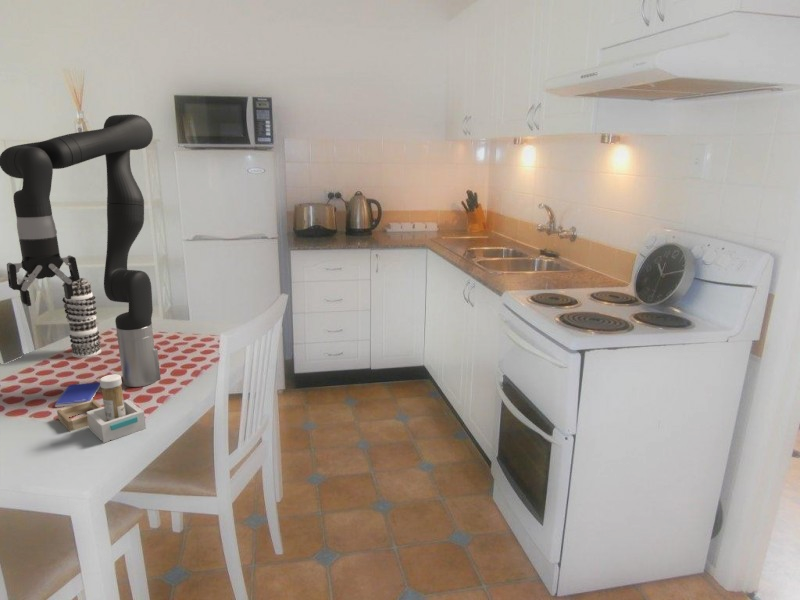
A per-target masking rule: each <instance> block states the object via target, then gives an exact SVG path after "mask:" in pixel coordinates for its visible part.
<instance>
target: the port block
mask: <svg viewBox="0 0 800 600" xmlns="http://www.w3.org/2000/svg"><path fill="white" fill-rule="evenodd" d="M124 406H125V413H126V414H125V415H126V416H123V417H120V418H116V419H113V420H110V421H107V420H106V416H105V410H104V406H102V407H101V408H97V409H94V410H91V411H88V412H86V415H87V419H88V429H89V430H90V431H91V432H92V433H93V434H94V435H95V436H96V437H97V438H98V439H99V440H100V441H101V440H102V441H103V444H105V443H107V442H111V441H113V440H117V439H120V438H122V437H125V436H128V435H131V434H133V433H136V432H139V431H142V430H145V429H146V430H147V425H146V416H145V411H144V410H143V409H142V408H140V407H139V406H138V405H135V403H133V402H132V401H131V400H130V399H124ZM110 440H111V441H110ZM102 441H101V442H102Z"/></svg>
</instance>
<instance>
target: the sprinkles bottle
mask: <svg viewBox="0 0 800 600" xmlns="http://www.w3.org/2000/svg"><path fill="white" fill-rule="evenodd" d="M99 383H100V388H101V392H102V402H103V407H104V410H105V416H106V420H107V421H110V420H113V419H116V418H120V417H123V416H126V415H125V414H126V413H125V406H124V400H125V399H124V395H123V388H122V384H123V379H122V377H121V375H120V374H115V373H114V374H108V375H105V376H102V377H101V378H100V379H99Z"/></svg>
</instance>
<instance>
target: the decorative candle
mask: <svg viewBox="0 0 800 600" xmlns="http://www.w3.org/2000/svg"><path fill="white" fill-rule="evenodd" d="M91 284H92V282H90V281H89V280H88V279H87V278H83V277H80V279H79V280H76V281H74V282H73V283H72V288H73V296H71V299H66V298H65V294H64V295H63V296H64V297H62V300H61V301H62V303H63V308H64V312H65V314H66V316H65V317H66V322H67V323H69V325H68V326H69V338H70V339H69V341H70V348H71V352H72V357H73V358H77V359H80V358H81V359H84V358H90V357H94V356H97V355H100V354H101V353H102V345H101V340H100V337H101V336H100V335H99V334H100V331H99V330H98V325H97V321H96V319H97V315H96V314H98V313H97V311H95V310H96V309H97V307H96V306H95V304H96V302H97V301H95V299H96V296H94V294H93V291H92V285H91ZM61 287H63V288H64V286H63V284H62V286H61Z"/></svg>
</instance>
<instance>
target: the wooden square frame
mask: <svg viewBox="0 0 800 600" xmlns="http://www.w3.org/2000/svg"><path fill="white" fill-rule="evenodd" d="M101 407H103V406H102V405H101V404H100V403H98V402H97V401H96V400H95V399H92V400H91V401H88V402H84V403H81V404H77V405H74V406H67V407H63V408H60V409H57V410H56V412H57V419H58V421H59V420H60V421H61V422H60V421H59V422H60V423H61V424H62V425H63V426H64V427H65V428H66V429H67V430H68V431H69V432H73V431H75V430H79V429H81V428H85V427H89V425H88V419H87V414H86V413H87V412H88V411H91V410H94V409H97V408H101ZM85 412H86V413H85ZM81 413H83V414H85V415H83V416H79V415H82V414H81ZM78 414H79V415H78ZM75 415H76V416H79V417H76V416H75ZM72 416H73V417H75V418H73V419H71V418H72ZM69 417H70V418H69Z"/></svg>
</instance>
